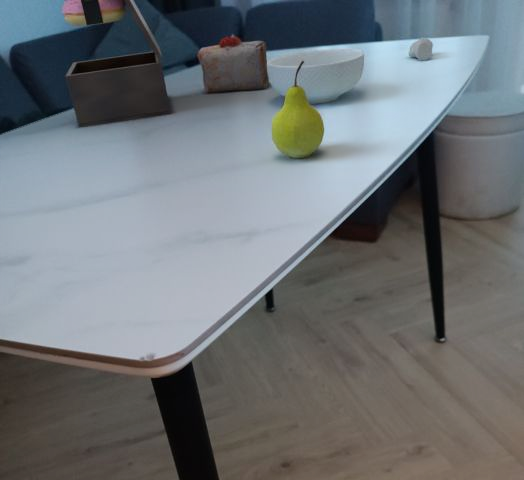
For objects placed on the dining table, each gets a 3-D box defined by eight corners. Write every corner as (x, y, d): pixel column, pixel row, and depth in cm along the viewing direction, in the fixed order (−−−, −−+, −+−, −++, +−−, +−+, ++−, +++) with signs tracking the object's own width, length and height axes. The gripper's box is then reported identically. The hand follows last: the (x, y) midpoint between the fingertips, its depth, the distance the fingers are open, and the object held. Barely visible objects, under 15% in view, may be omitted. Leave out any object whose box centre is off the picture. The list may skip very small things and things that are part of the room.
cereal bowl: (382, 91, 106) (383, 48, 102) (326, 115, 97) (324, 68, 93) (308, 86, 117) (306, 46, 113) (251, 107, 107) (246, 64, 103)
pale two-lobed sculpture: (411, 62, 132) (435, 52, 130) (410, 68, 126) (434, 58, 123) (406, 41, 130) (430, 32, 128) (404, 47, 124) (429, 37, 122)
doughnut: (52, 29, 101) (45, 0, 99) (90, 19, 109) (84, -7, 107) (105, 25, 97) (99, -5, 95) (140, 16, 105) (135, -12, 103)
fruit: (264, 158, 81) (254, 63, 75) (302, 146, 84) (297, 53, 78) (295, 168, 77) (288, 67, 70) (335, 154, 80) (332, 56, 73)
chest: (79, 129, 107) (65, 76, 102) (85, 110, 120) (72, 62, 115) (171, 115, 108) (161, 62, 103) (167, 98, 121) (158, 50, 116)
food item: (199, 96, 119) (191, 42, 114) (208, 87, 126) (201, 35, 120) (266, 91, 117) (260, 35, 111) (272, 82, 123) (267, 29, 117)
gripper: (78, -157, 81) (116, 24, 94) (90, -136, 100) (120, 12, 113) (22, -151, 81) (68, 30, 93) (45, -131, 100) (81, 17, 112)
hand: (97, 20), depth 103 cm, fingers closed on doughnut, 11 cm apart
